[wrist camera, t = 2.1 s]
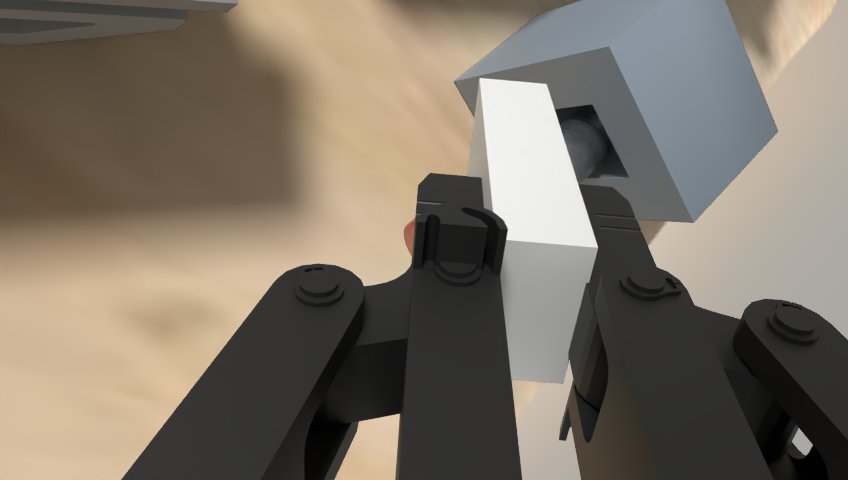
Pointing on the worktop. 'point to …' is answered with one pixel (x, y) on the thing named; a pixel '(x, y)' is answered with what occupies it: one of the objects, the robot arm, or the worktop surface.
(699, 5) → the grey rectangular block
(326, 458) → the robot arm
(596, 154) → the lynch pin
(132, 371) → the worktop surface
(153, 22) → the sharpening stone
